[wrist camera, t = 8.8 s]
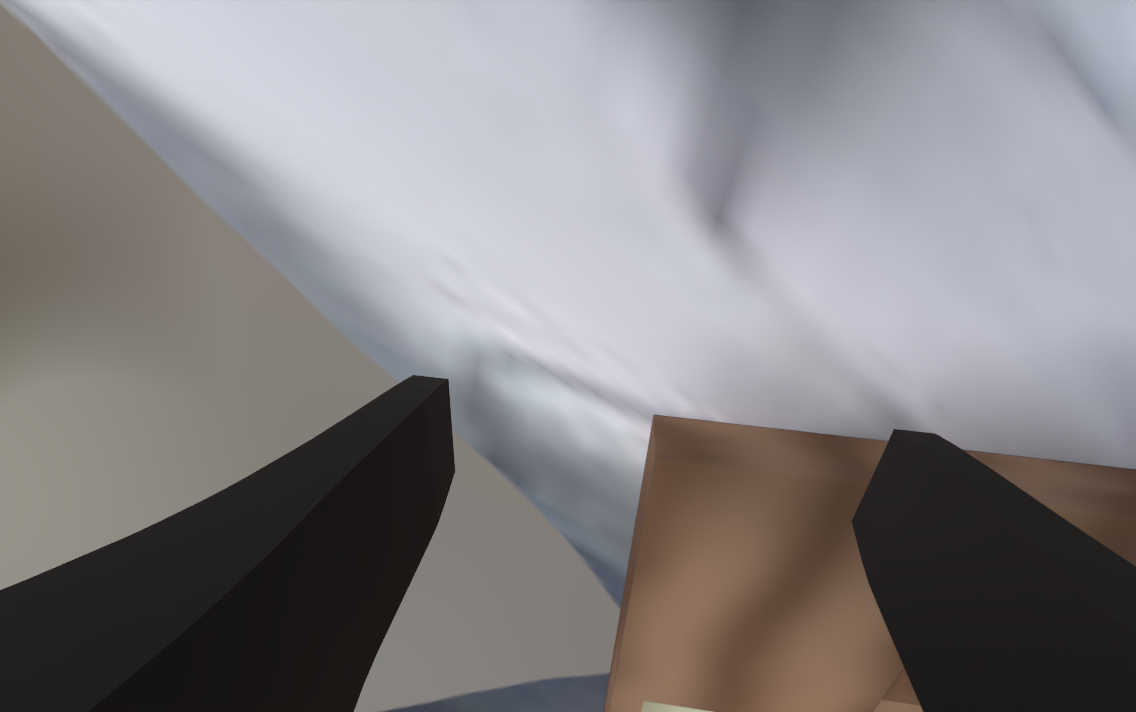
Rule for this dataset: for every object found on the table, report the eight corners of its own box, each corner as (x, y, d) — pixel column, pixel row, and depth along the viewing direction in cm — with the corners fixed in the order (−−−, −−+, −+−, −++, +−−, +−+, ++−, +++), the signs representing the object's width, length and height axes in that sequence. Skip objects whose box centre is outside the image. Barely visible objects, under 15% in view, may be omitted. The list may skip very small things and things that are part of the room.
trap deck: (1257, 483, 18) (1341, 541, 16) (946, 804, 31) (968, 860, 29) (653, 415, 20) (655, 458, 18) (597, 747, 33) (594, 796, 31)
